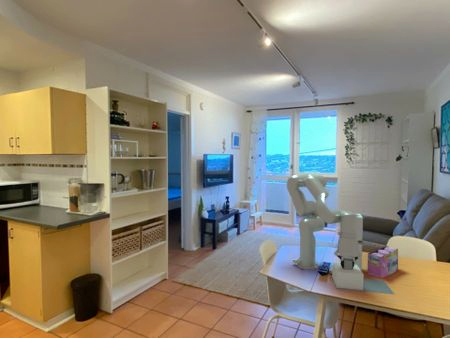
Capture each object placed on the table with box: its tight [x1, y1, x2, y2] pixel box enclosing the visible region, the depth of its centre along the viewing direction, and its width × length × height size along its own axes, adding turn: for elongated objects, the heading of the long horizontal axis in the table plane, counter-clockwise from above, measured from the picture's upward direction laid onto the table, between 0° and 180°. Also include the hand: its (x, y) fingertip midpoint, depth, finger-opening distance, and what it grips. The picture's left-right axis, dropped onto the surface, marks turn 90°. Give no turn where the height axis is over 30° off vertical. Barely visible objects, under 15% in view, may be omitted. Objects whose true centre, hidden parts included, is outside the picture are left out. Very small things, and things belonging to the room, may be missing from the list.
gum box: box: [367, 245, 399, 279], centre depth 168 cm, size 24×8×14 cm, turn 125°
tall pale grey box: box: [339, 213, 364, 272], centre depth 169 cm, size 11×11×35 cm
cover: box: [331, 258, 364, 290], centre depth 151 cm, size 13×13×13 cm
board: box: [331, 275, 395, 295], centre depth 150 cm, size 28×16×1 cm, turn 79°
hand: (347, 267), depth 151 cm, fingers closed on cover, 4 cm apart
